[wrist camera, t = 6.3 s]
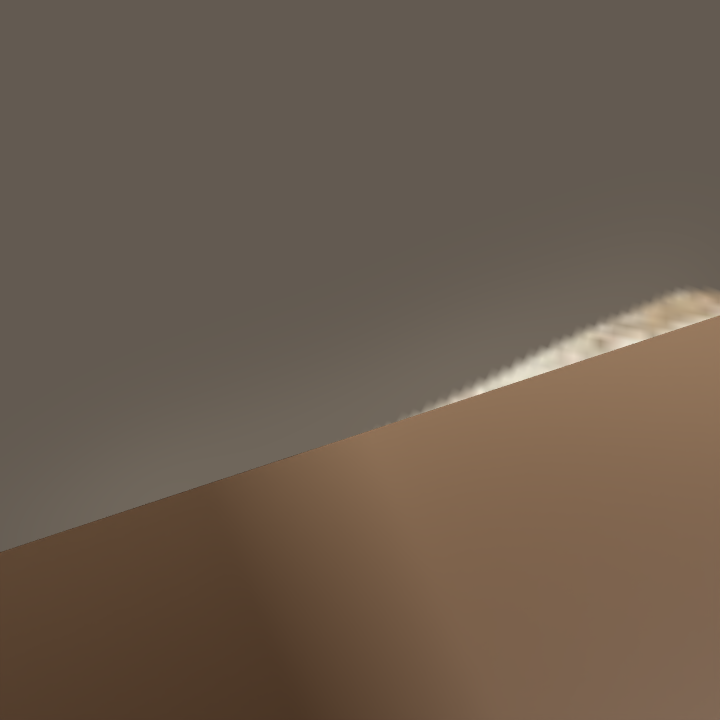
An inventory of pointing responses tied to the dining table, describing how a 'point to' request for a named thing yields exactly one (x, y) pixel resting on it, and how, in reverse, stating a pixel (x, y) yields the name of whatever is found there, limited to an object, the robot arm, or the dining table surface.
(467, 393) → the dining table surface
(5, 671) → the letter block
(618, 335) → the dining table surface
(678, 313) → the dining table surface
